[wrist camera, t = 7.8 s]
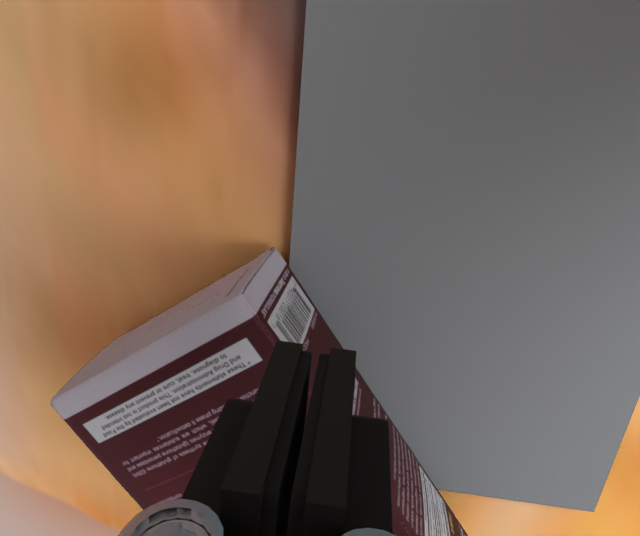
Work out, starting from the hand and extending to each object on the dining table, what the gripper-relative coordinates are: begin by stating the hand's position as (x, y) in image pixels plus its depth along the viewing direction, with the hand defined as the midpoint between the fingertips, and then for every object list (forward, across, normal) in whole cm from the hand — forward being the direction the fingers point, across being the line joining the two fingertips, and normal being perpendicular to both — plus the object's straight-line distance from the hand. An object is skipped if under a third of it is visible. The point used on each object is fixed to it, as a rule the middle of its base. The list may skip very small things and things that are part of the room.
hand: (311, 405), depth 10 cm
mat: (+9, -5, 0) cm, 10 cm away
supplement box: (+6, +6, +2) cm, 9 cm away
